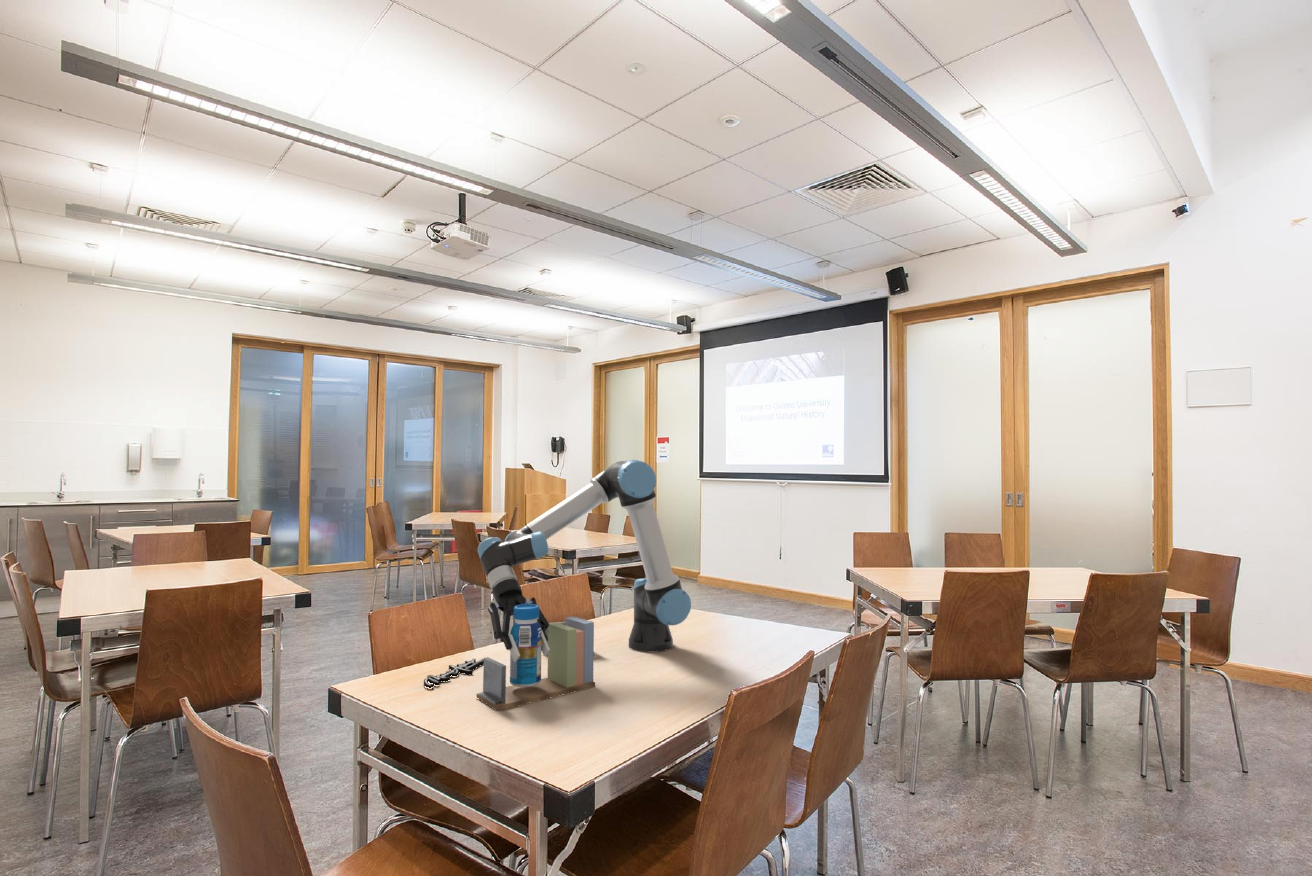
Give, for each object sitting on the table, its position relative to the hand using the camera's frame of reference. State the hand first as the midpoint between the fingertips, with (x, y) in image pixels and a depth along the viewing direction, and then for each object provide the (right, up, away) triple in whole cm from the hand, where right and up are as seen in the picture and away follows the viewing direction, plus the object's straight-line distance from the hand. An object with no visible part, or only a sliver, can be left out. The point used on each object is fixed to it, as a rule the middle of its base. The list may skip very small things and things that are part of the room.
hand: (532, 655), depth 168 cm
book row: (+9, -10, +10) cm, 17 cm away
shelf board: (+1, -11, +3) cm, 11 cm away
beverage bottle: (-2, -8, +2) cm, 9 cm away
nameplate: (-26, -12, +19) cm, 34 cm away
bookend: (-9, -9, -5) cm, 14 cm away
